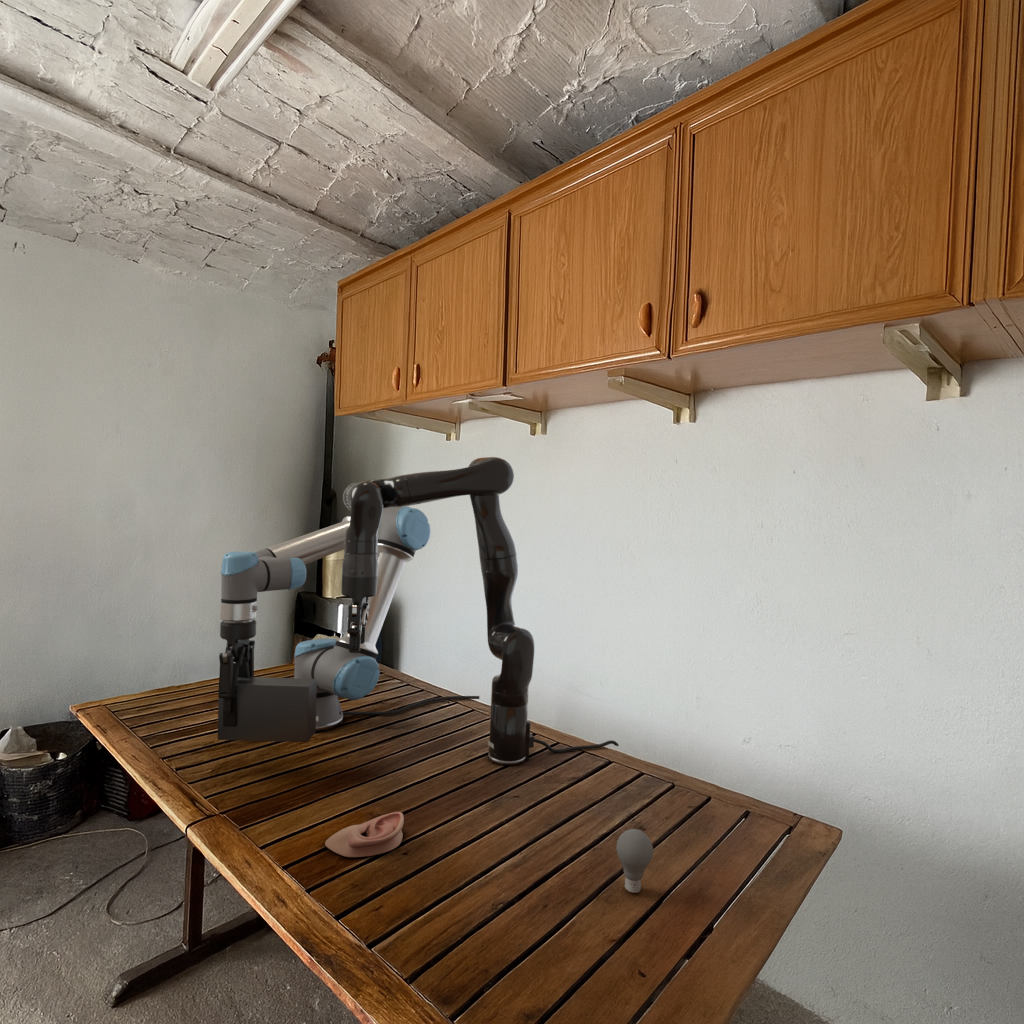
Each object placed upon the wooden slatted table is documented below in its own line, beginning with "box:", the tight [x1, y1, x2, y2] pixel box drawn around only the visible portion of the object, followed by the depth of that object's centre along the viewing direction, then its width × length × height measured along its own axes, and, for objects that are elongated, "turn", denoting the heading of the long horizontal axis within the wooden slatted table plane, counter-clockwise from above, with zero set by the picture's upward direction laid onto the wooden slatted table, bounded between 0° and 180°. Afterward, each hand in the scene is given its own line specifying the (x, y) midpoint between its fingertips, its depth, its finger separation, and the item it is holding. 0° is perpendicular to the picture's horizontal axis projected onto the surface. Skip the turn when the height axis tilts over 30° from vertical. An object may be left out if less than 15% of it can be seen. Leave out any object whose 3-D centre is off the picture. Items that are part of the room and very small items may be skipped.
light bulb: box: [615, 828, 654, 894], centre depth 106 cm, size 6×6×10 cm
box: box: [217, 676, 317, 743], centre depth 144 cm, size 20×6×13 cm, turn 90°
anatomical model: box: [324, 811, 405, 858], centre depth 117 cm, size 13×4×12 cm
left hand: (236, 720), depth 145 cm, fingers closed on box, 6 cm apart
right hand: (357, 647), depth 137 cm, fingers open, 8 cm apart
